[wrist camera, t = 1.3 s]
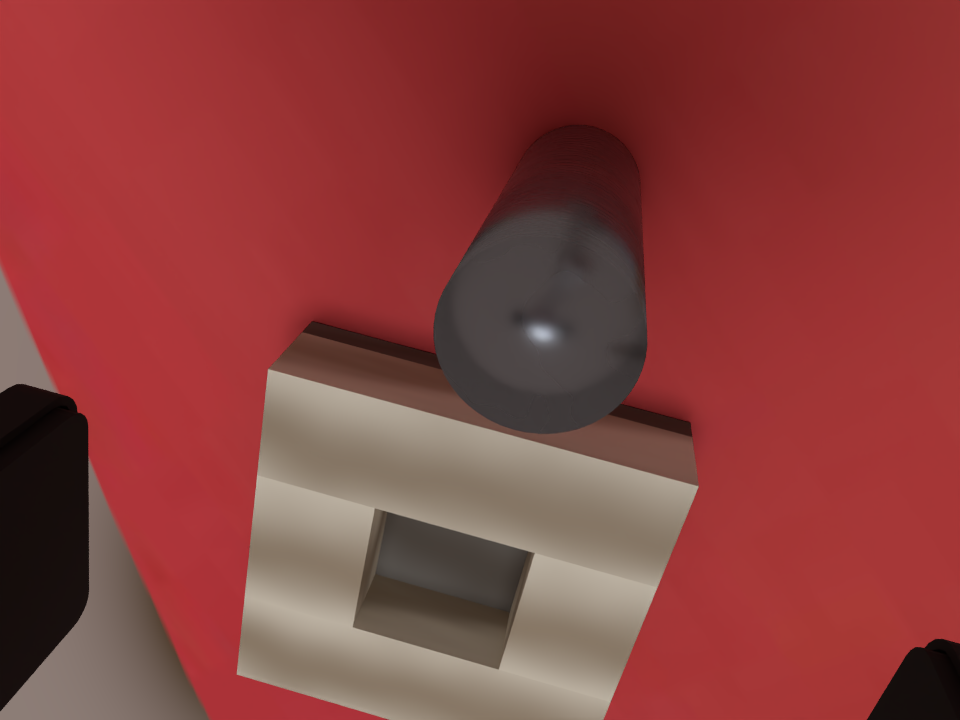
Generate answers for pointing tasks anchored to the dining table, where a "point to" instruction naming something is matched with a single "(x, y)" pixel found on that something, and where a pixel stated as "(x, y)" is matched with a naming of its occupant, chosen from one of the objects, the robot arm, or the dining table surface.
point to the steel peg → (551, 290)
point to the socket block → (449, 541)
